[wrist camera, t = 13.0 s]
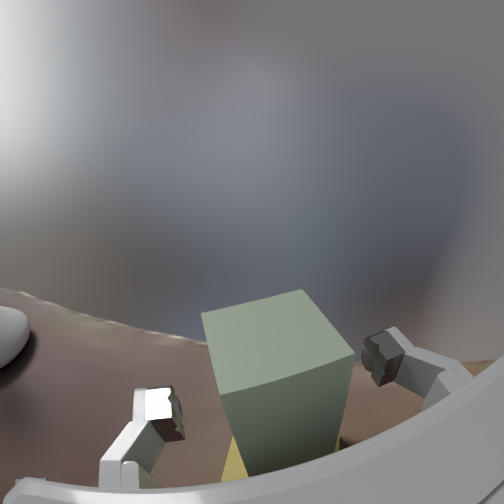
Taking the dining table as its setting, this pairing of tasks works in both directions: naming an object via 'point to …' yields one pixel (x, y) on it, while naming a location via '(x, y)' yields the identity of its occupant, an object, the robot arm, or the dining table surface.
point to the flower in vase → (12, 333)
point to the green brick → (279, 379)
